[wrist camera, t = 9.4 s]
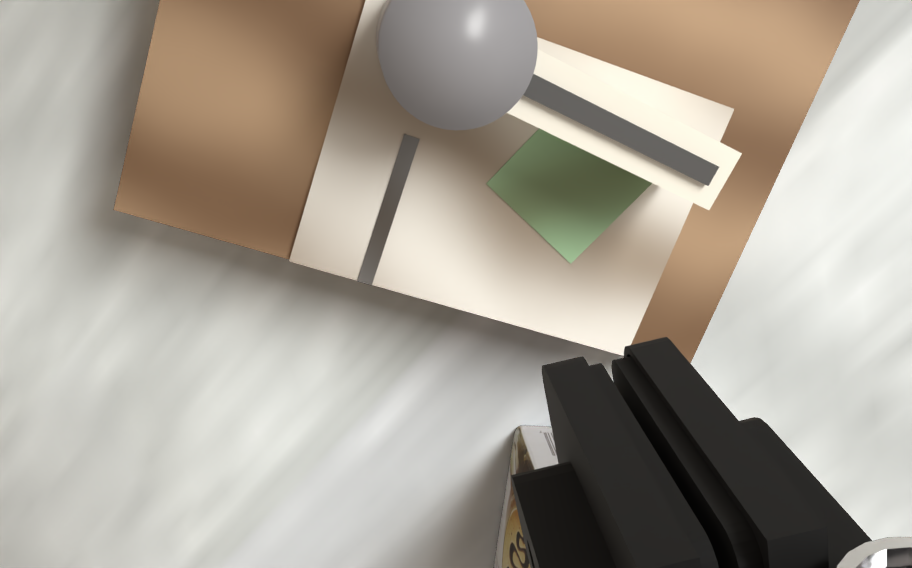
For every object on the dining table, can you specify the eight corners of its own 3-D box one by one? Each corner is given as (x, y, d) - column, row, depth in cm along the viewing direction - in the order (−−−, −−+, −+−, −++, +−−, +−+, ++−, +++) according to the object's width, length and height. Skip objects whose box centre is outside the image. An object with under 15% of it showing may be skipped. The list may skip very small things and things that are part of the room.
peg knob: (354, 73, 24) (353, 89, 21) (410, -58, 23) (420, -66, 20) (650, 213, 27) (697, 250, 23) (713, 101, 26) (773, 120, 22)
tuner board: (260, -331, 24) (242, -386, 20) (837, -80, 28) (905, -90, 25) (141, 184, 28) (111, 211, 25) (653, 333, 33) (688, 374, 29)
